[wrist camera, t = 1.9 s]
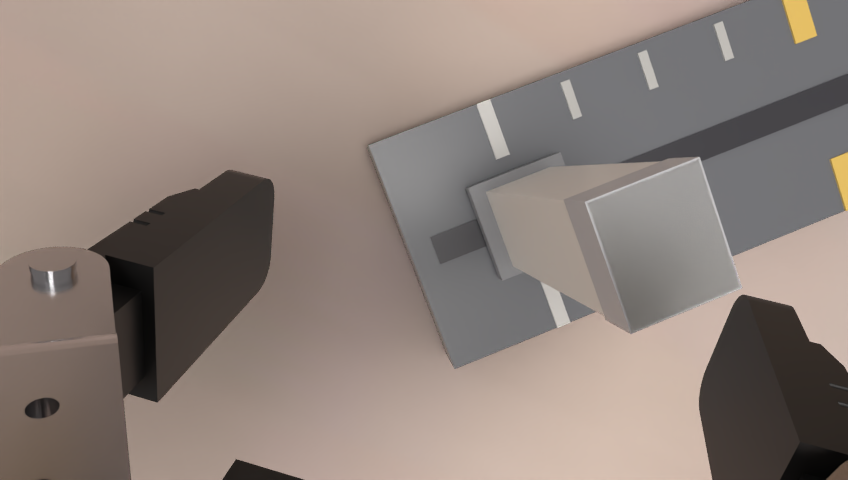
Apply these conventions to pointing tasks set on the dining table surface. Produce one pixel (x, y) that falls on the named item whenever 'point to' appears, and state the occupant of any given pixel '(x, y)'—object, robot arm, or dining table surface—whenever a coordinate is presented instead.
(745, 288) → the dining table surface
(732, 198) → the fader console
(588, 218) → the fader tab
